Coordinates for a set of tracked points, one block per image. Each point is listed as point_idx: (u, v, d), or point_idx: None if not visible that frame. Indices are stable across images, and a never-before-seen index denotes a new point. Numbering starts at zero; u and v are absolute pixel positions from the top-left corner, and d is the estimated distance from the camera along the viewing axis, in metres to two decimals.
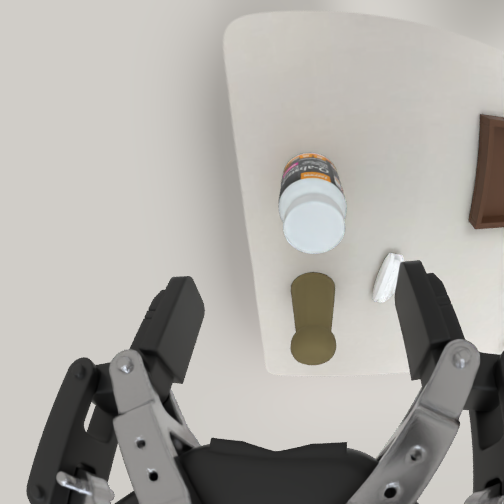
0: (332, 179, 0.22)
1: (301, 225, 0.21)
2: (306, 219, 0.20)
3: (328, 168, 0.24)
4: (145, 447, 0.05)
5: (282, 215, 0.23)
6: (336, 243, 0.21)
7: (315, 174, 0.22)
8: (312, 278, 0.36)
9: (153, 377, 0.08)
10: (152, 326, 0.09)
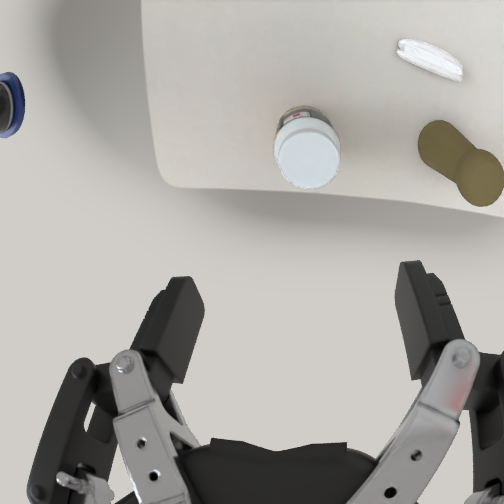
0: (280, 126, 0.23)
1: (303, 173, 0.21)
2: (297, 168, 0.21)
3: (280, 122, 0.24)
4: (145, 447, 0.05)
5: None
6: (327, 141, 0.19)
7: None
8: (422, 145, 0.25)
9: (153, 377, 0.08)
10: (152, 326, 0.09)
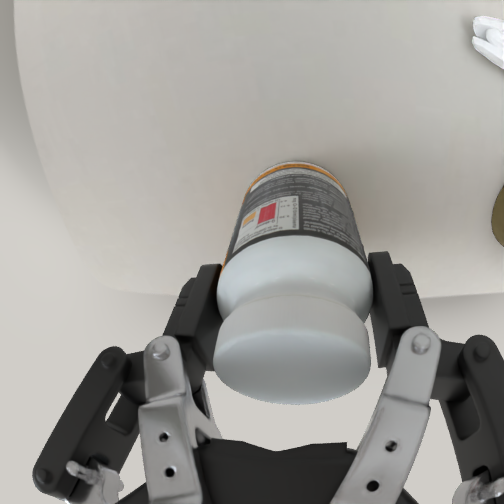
0: (230, 248, 0.10)
1: (280, 389, 0.08)
2: (263, 384, 0.08)
3: (238, 218, 0.12)
4: (167, 442, 0.05)
5: None
6: (343, 345, 0.06)
7: None
8: (502, 218, 0.12)
9: (189, 363, 0.08)
10: (187, 312, 0.09)
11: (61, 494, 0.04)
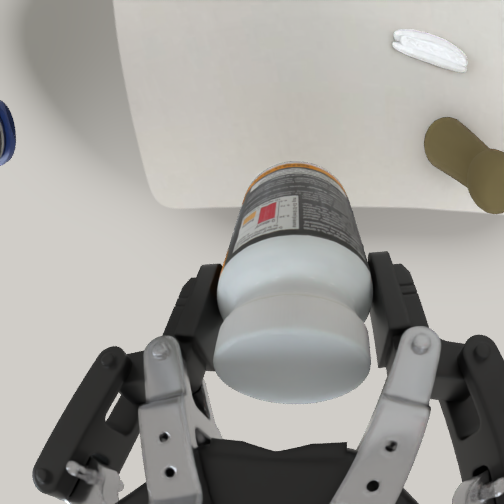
0: (230, 247, 0.10)
1: (281, 389, 0.08)
2: (264, 383, 0.08)
3: (238, 218, 0.12)
4: (167, 442, 0.05)
5: None
6: (343, 344, 0.06)
7: None
8: (429, 146, 0.23)
9: (189, 363, 0.08)
10: (187, 312, 0.09)
11: (61, 494, 0.04)
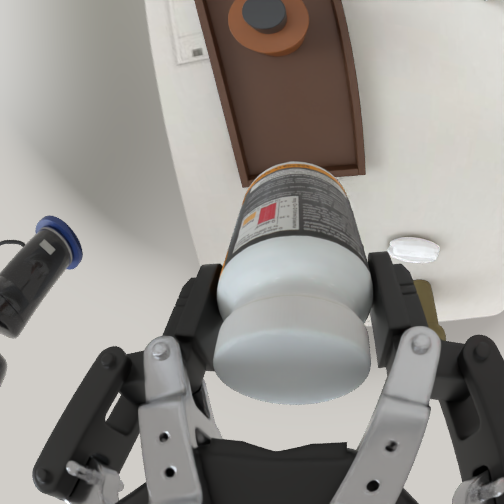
0: (230, 248, 0.10)
1: (280, 389, 0.08)
2: (263, 384, 0.08)
3: (238, 218, 0.12)
4: (167, 442, 0.05)
5: None
6: (343, 345, 0.06)
7: None
8: None
9: (189, 363, 0.08)
10: (186, 312, 0.09)
11: (61, 494, 0.04)
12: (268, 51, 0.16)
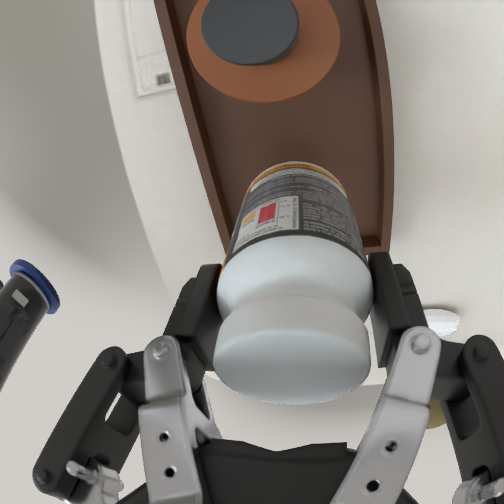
0: (230, 248, 0.10)
1: (280, 390, 0.08)
2: (263, 384, 0.08)
3: (238, 218, 0.12)
4: (167, 442, 0.05)
5: None
6: (343, 345, 0.06)
7: None
8: None
9: (189, 363, 0.08)
10: (186, 312, 0.09)
11: (61, 494, 0.04)
12: (261, 100, 0.09)
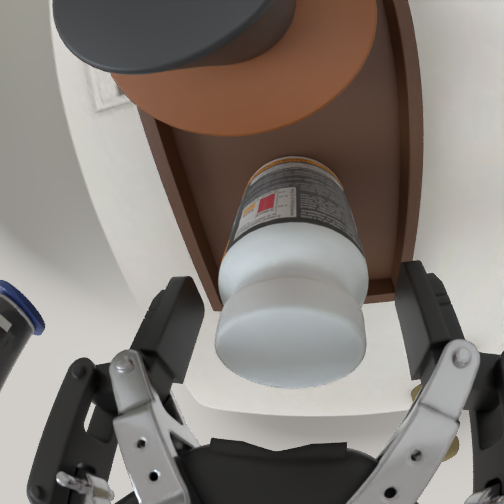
0: (231, 236, 0.11)
1: (279, 372, 0.09)
2: (263, 366, 0.09)
3: (239, 209, 0.13)
4: (145, 447, 0.05)
5: None
6: (338, 323, 0.07)
7: None
8: (413, 398, 0.29)
9: (153, 377, 0.08)
10: (152, 326, 0.09)
11: None
12: (227, 131, 0.05)
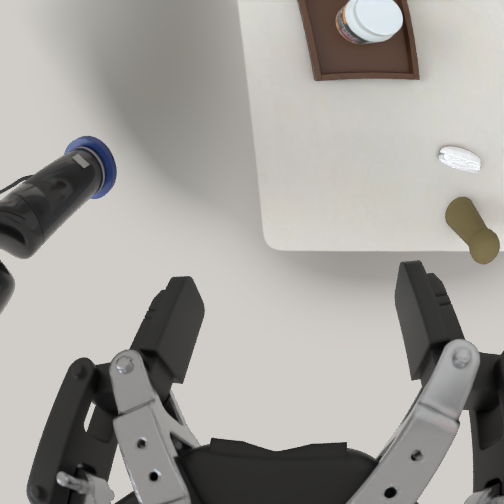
0: None
1: (377, 21, 0.17)
2: (371, 17, 0.17)
3: (342, 7, 0.21)
4: (145, 447, 0.05)
5: (377, 38, 0.20)
6: (390, 0, 0.15)
7: (343, 14, 0.20)
8: (448, 216, 0.37)
9: (153, 377, 0.08)
10: (152, 326, 0.09)
11: None
12: None
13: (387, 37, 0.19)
